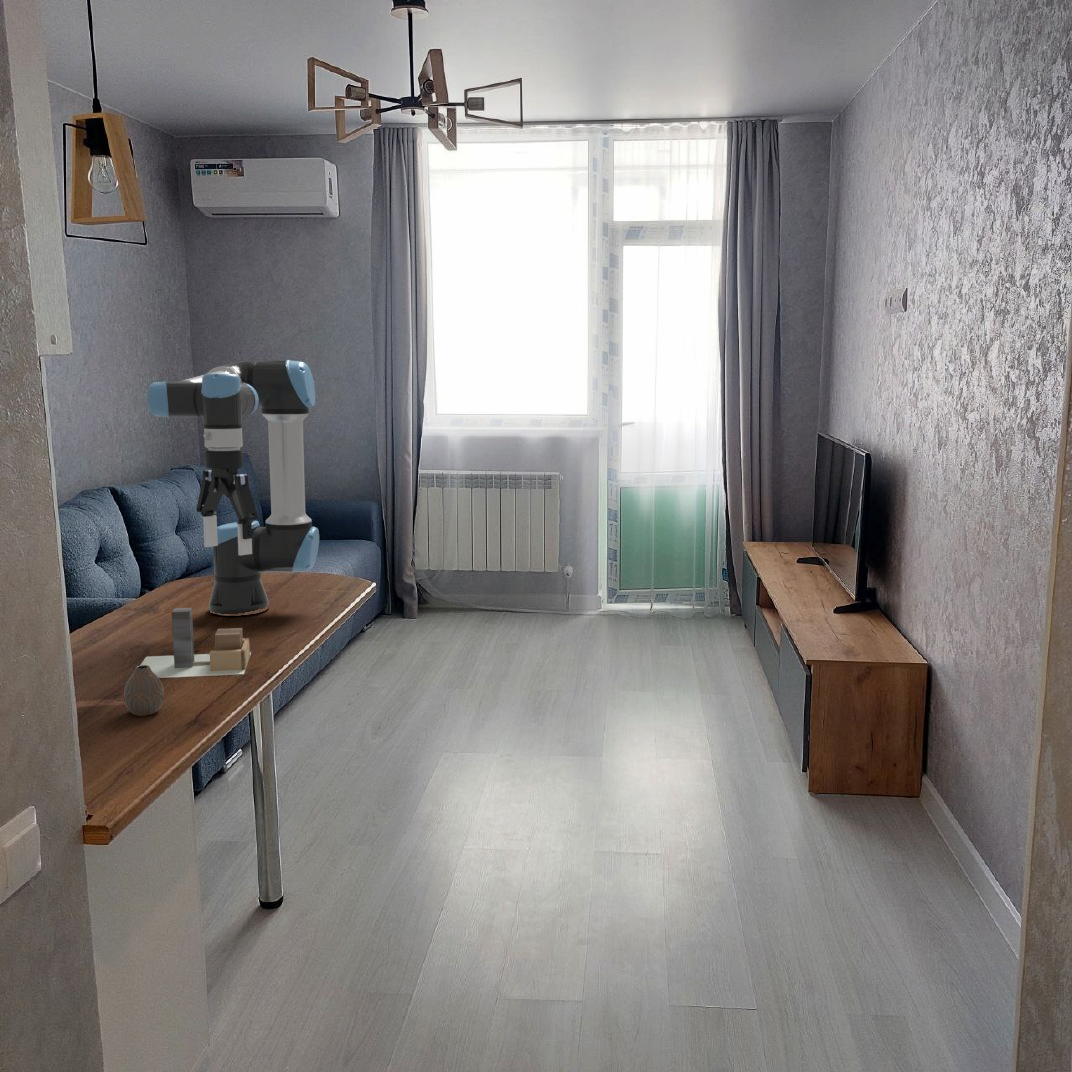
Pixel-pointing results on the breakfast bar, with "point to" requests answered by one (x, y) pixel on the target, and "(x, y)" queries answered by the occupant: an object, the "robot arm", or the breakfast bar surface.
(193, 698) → the breakfast bar surface
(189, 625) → the tether block
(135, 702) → the vase
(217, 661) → the white board with bracket
